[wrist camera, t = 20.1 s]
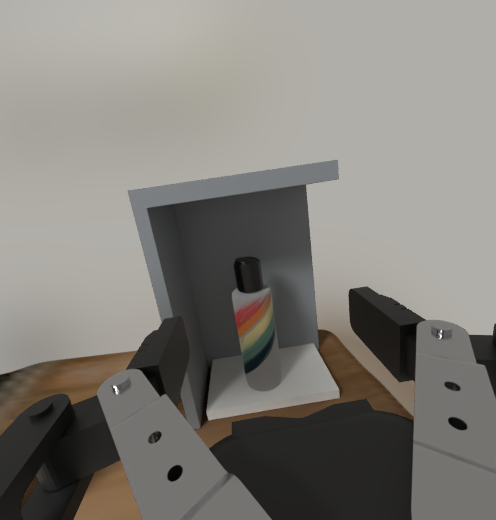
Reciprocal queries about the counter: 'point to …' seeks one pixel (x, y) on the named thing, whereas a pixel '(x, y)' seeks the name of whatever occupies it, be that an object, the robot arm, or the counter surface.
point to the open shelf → (229, 259)
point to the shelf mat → (285, 394)
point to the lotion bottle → (256, 325)
